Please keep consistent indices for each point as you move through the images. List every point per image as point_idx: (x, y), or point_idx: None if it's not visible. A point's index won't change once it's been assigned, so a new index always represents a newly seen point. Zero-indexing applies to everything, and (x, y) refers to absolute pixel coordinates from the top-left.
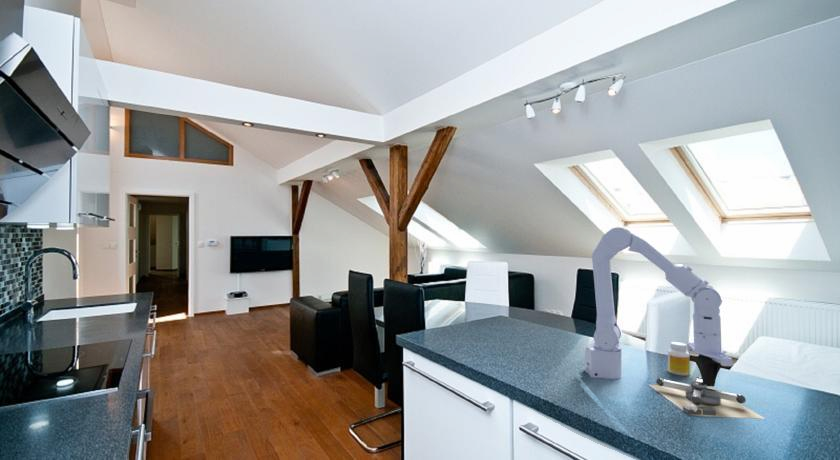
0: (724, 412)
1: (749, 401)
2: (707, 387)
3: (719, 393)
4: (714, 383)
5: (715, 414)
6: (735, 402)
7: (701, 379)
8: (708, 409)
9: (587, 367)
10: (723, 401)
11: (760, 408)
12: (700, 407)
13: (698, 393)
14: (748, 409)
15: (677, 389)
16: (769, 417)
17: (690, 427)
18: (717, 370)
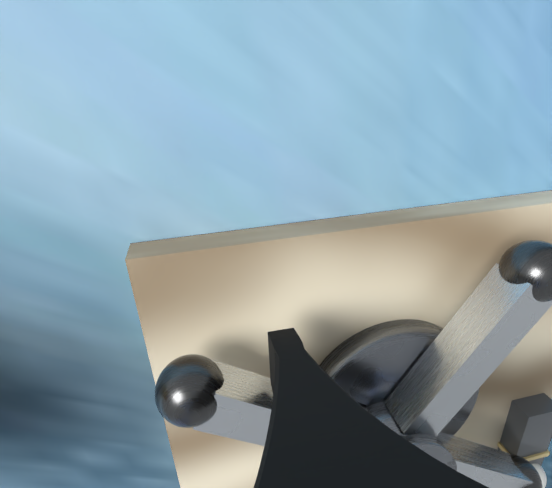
0: (528, 350)
1: (292, 36)
2: (149, 289)
3: (482, 376)
4: (301, 342)
5: (545, 396)
6: (424, 233)
7: (226, 408)
8: (546, 430)
9: None
10: (409, 298)
11: (418, 46)
12: (523, 451)
13: (483, 477)
14: (521, 215)
15: (247, 464)
16: (538, 95)
17: (547, 457)
18: (389, 442)
